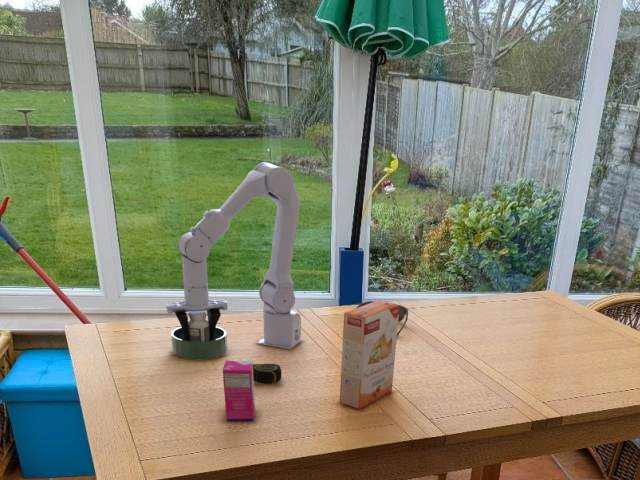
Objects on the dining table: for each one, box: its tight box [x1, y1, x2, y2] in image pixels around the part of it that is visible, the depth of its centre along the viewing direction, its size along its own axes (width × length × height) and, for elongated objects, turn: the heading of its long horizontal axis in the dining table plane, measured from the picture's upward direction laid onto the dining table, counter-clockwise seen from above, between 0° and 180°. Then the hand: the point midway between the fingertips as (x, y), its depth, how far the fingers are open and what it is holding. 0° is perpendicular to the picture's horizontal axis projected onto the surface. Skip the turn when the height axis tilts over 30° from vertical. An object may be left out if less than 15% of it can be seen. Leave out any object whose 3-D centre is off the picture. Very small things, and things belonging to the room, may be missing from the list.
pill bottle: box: [188, 311, 210, 342], centre depth 182 cm, size 5×5×10 cm
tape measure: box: [253, 363, 282, 385], centre depth 169 cm, size 7×7×4 cm
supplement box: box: [222, 359, 256, 423], centre depth 150 cm, size 6×6×12 cm
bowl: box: [170, 326, 228, 361], centre depth 183 cm, size 13×13×5 cm
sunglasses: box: [354, 300, 409, 338], centre depth 211 cm, size 16×17×5 cm
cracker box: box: [339, 299, 400, 410], centre depth 160 cm, size 14×6×21 cm, turn 148°
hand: (199, 339), depth 183 cm, fingers closed on pill bottle, 5 cm apart
